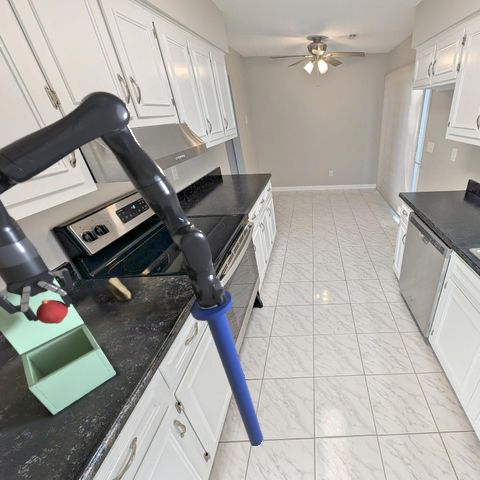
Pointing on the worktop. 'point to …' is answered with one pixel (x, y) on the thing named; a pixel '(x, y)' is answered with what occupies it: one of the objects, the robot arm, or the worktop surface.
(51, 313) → the onion
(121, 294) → the rock
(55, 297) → the lid
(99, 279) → the worktop surface
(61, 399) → the chest
